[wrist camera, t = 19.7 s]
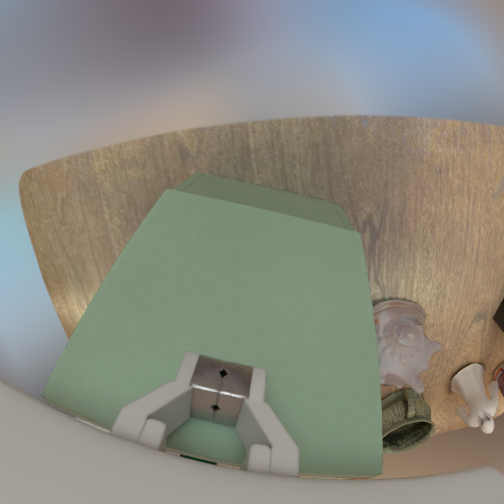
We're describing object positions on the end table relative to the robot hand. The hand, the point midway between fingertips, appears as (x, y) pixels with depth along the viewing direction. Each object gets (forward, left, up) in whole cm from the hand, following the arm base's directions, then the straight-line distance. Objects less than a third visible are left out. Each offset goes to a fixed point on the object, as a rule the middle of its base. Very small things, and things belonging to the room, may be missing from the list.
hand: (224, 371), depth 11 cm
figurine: (+17, +35, -21) cm, 44 cm away
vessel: (+24, +26, -21) cm, 41 cm away
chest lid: (0, 0, -5) cm, 5 cm away
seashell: (+12, +18, -21) cm, 30 cm away
